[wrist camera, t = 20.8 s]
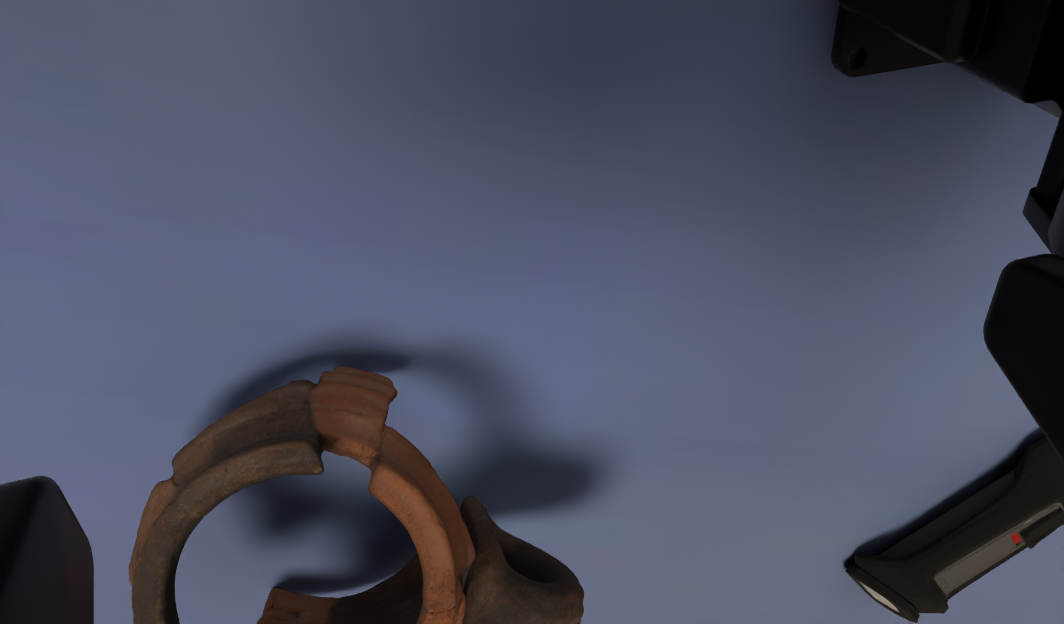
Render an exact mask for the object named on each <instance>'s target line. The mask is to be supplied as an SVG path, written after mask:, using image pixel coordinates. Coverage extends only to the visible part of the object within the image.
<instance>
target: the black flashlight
mask: <svg viewBox="0 0 1064 624" xmlns="http://www.w3.org/2000/svg"><path fill="white" fill-rule="evenodd" d="M1061 525H1064V462H1063V461H1062V459H1061V458H1060V456H1059V455H1058V454H1057V452H1056V451H1055V449H1054V448H1053V446H1052V445H1051V443H1050V442H1049V440H1048V439H1047V437H1045V438H1043V439H1041V440H1039V441H1038V442H1036V443H1034V444H1032V445H1031V446H1029V447H1028V449H1027V450H1026V452H1025V454H1024V455H1023V457H1022V458H1021V460H1020V461H1019V464H1018V465H1017V466H1016V468H1015V470H1012V471H1011V472H1009V473H1007V474H1006V475H1004V476H1003V477H1001V478H1000V479H998V480H996V481H995V482H993V483H992V484H990V485H989V486H987V487H985V488H984V489H982V490H981V491H979V492H978V493H976V494H974V495H973V496H971V497H970V498H968V499H967V500H965V501H963V502H962V503H960V504H959V505H957V506H956V507H954V508H952V509H951V510H949V511H948V512H946V513H945V514H943V515H941V516H940V517H938V518H937V519H935V520H934V521H932V522H930V523H929V524H927V525H926V526H924V527H923V528H921V529H919V530H918V531H916V532H915V533H913V534H912V535H910V536H908V537H907V538H905V539H904V540H902V541H901V542H899V543H897V544H896V545H894V546H893V547H891V548H890V549H888V550H886V551H885V552H883V553H881V554H879V555H871V554H869V553H866V552H859V553H857V554H855V555H854V559H855V563H856V566H854V565H852V566H851V567H849V568H848V569H846V568H844V569H845V571H846V572H847V573H848V574H849V575H850V576H851V578H852V579H853V580H854V581H855V582H856V583H857V584H858V585H859V586H860V587H861V588H862V589H863V590H864V591H865V592H866V593H867V594H868V595H869V596H870V597H871V598H872V599H874V600H875V601H876V602H878V603H879V604H881V605H882V606H884V607H885V608H887V609H889V610H890V611H892V612H894V613H895V614H897V615H899V616H901V617H903V618H905V619H907V620H909V621H911V622H915V623H917V621H918V618H919V616H920V615H919V613H945V612H946V611H947V609H948V605H947V601H948V599H950V598H951V597H953V596H954V595H955V594H957V593H958V592H959V591H961V590H962V589H964V588H965V587H967V586H968V585H970V584H971V583H973V582H974V581H976V580H977V579H979V578H981V577H982V576H984V575H985V574H987V573H988V572H990V571H991V570H993V569H994V568H996V567H997V566H999V565H1001V564H1002V563H1004V562H1005V561H1007V560H1008V559H1010V558H1011V557H1013V556H1014V555H1016V554H1017V553H1019V552H1021V551H1022V550H1024V549H1025V548H1027V547H1029V548H1030V549H1031V548H1033V547H1034V546H1035V545H1036V544H1037V543H1038V542H1040V541H1041V540H1042V539H1044V538H1045V537H1046V536H1048V535H1049V534H1050V533H1052V532H1053V531H1055V530H1056V529H1057V528H1059V527H1060V526H1061Z"/></svg>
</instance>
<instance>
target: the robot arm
mask: <svg viewBox="0 0 1064 624" xmlns="http://www.w3.org/2000/svg"><path fill="white" fill-rule="evenodd" d="M839 2H840V6H839V12H838V18H837V24H836V31H835V37H834V43H833V49H832V64H833V66H834V68H835V69H837V70H839V71H840V72H842V73H843V74H845V75H846V76H848V77H858V76H864V75H870V74H876V73H882V72H888V71H894V70H900V69H906V68H912V67H918V66H924V65H930V64H936V63H942V62H945V63H951V64H953V65H955V66H957V67H959V68H960V69H962V70H964V71H966V72H968V73H970V74H972V75H974V76H976V77H978V78H979V79H981V80H983V81H985V82H987V83H989V84H991V85H993V86H995V87H997V88H998V89H1000V90H1002V91H1004V92H1006V93H1008V94H1010V95H1012V96H1014V97H1016V98H1017V99H1019V100H1021V101H1023V102H1025V103H1031V104H1033V105H1035V106H1037V107H1039V108H1041V109H1043V110H1045V111H1047V112H1048V113H1050V114H1052V115H1054V116H1056V117H1058V118H1059V121H1058V124H1057V127H1056V130H1055V133H1054V136H1053V139H1052V142H1051V145H1050V148H1049V151H1048V154H1047V157H1046V160H1045V163H1044V166H1043V169H1042V172H1041V175H1040V178H1039V181H1038V184H1037V187H1034V188H1031V189H1030V191H1029V194H1028V197H1027V200H1026V203H1025V206H1024V209H1023V215H1024V216H1025V218H1026V219H1027V220H1028V222H1029V223H1030V224H1031V226H1032V227H1033V229H1034V230H1035V231H1036V233H1037V234H1038V235H1039V237H1040V238H1041V240H1042V241H1043V242H1044V244H1045V245H1046V246H1047V248H1048V249H1049V251H1050V252H1051V253H1052V254H1040V255H1036V256H1031V257H1027V258H1022V259H1018V260H1014V261H1012V262H1010V263H1008V264H1007V266H1006V267H1005V268H1004V269H1003V270H1002V272H1001V275H1000V277H999V280H998V283H997V286H996V289H995V292H994V295H993V298H992V301H991V304H990V307H989V310H988V313H987V316H986V319H985V323H984V328H983V334H984V340H985V343H986V346H987V348H988V350H989V351H990V353H991V355H992V356H993V358H994V359H995V361H996V362H997V364H998V365H999V367H1000V368H1001V370H1002V371H1003V373H1004V374H1005V376H1006V377H1007V379H1008V380H1009V382H1010V383H1011V385H1012V386H1013V388H1014V389H1015V391H1016V392H1017V394H1018V395H1019V397H1020V398H1021V400H1022V401H1023V403H1024V404H1025V406H1026V407H1027V409H1028V410H1029V412H1030V413H1031V415H1032V416H1033V418H1034V419H1035V421H1036V422H1037V424H1038V425H1039V427H1040V428H1041V430H1042V431H1043V433H1044V434H1045V436H1046V437H1047V439H1048V440H1049V442H1050V443H1051V445H1052V446H1053V448H1054V449H1055V451H1056V452H1057V454H1058V455H1059V456H1060V458H1061V459H1062V461H1063V462H1064V0H839ZM857 48H858V49H859V51H858V53H857V56H856V57H855V58H854V59H853V60H852V61H850V62H849V58H850V55H851V53H852V52H853V51H854V50H855V49H857ZM0 624H94V566H93V556H92V551H91V547H90V544H89V541H88V538H87V536H86V534H85V533H84V531H83V529H82V527H81V525H80V524H79V522H78V520H77V518H76V517H75V515H74V513H73V511H72V509H71V508H70V506H69V504H68V502H67V500H66V499H65V497H64V495H63V493H62V491H61V490H60V488H59V486H58V485H57V484H56V482H55V481H53V480H52V479H51V478H49V477H46V476H37V477H32V478H28V479H23V480H19V481H14V482H10V483H5V484H1V485H0Z"/></svg>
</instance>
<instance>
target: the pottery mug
mask: <svg viewBox="0 0 1064 624" xmlns="http://www.w3.org/2000/svg"><path fill="white" fill-rule="evenodd" d="M396 396H397V390H396V389H395V388H394V386H393V383H392V381H391V380H390V379H389V378H387V377H384V376H382V375H379V374H376V373H373V372H368V371H364V370H360V369H356V368H353V367H345V366H342V367H338V368H335V369H334V370H333V371H325V372H323V373H322V375H321V377H320V380H319V382H318V384H314V383H313V382H311V381H309V380H296V381H293V382H290V383H289V384H287V385H284V386H282V387H280V388H277V389H275V390H273V391H270V392H268V393H265V394H263V395H261V396H260V397H258V398H256V399H254V400H252V401H250V402H248V403H246V404H244V405H242V406H241V407H239V408H238V409H236V410H234V411H232V412H230V413H228V414H227V415H225V416H224V417H222V418H220V419H219V420H217V421H216V422H215V423H213V424H211V425H210V426H208V427H207V428H206V429H205V430H204V431H202V432H201V433H200V434H199V435H198V436H197V437H196V438H194V439H193V440H192V441H191V442H189V443H188V444H187V445H186V446H184V447H183V448H182V449H181V450H180V451H179V452H178V453H177V454H176V455H175V457H174V459H173V460H172V465H173V468H174V474H173V476H172V477H171V478H170V479H169V480H166V481H161V482H159V483H158V484H157V485H156V486H155V487H154V488H153V490H152V492H151V494H150V497H149V499H148V502H147V504H146V506H145V508H144V511H143V514H142V518H141V522H140V526H139V528H138V532H137V539H136V542H135V546H134V550H133V553H132V557H131V562H130V564H129V580H130V582H131V585H132V609H133V613H134V624H180V623H179V618H178V613H177V609H176V602H175V574H176V569H177V564H178V561H179V558H180V554H181V552H182V550H183V547H184V544H185V542H186V540H187V539H188V537H189V535H190V534H191V532H192V531H193V530H194V528H195V527H196V526H197V525H198V524H199V522H200V521H201V520H202V518H203V517H204V516H205V515H207V514H208V513H209V512H210V511H211V510H213V509H214V508H215V507H216V506H217V505H218V504H219V503H221V502H222V501H223V500H225V499H226V498H228V497H229V496H231V495H232V494H234V493H236V492H238V491H239V490H241V489H243V488H245V487H247V486H250V485H252V484H255V483H258V482H261V481H265V480H269V479H272V478H277V477H281V476H290V475H319V474H322V473H323V471H324V468H323V463H322V460H321V454H322V452H323V451H324V450H325V451H328V452H332V453H334V454H338V455H341V456H348V457H350V458H353V459H355V460H357V461H359V462H360V463H361V464H363V465H365V466H366V467H368V468H369V469H370V470H371V479H370V483H369V488H368V490H369V492H370V493H371V494H372V495H373V496H375V497H376V498H377V499H378V500H380V501H381V502H382V503H383V504H384V505H385V506H386V507H387V508H388V509H389V510H390V511H391V512H392V513H393V514H394V515H395V516H396V517H397V518H398V519H399V520H400V521H401V523H402V524H403V525H404V526H405V528H406V529H407V531H408V532H409V534H410V536H411V538H412V540H413V542H414V545H415V547H416V550H417V552H416V554H415V555H414V557H413V558H412V559H411V560H410V561H409V562H408V563H407V564H406V565H405V566H404V567H403V568H402V569H401V570H400V571H399V572H397V573H396V574H395V575H393V576H391V577H390V578H388V579H387V580H385V581H383V582H381V583H379V584H377V585H376V586H374V587H373V588H371V589H369V590H367V591H364V592H362V593H358V594H355V595H352V596H346V597H342V598H332V597H330V598H328V597H317V596H311V595H302V594H297V593H294V592H290V591H287V590H284V589H281V588H274V589H272V590H271V592H270V594H269V596H268V599H267V602H266V604H265V607H264V611H263V615H262V617H261V618H260V619H259V620H258V622H257V624H580V621H581V617H582V615H583V612H584V608H583V599H584V591H583V588H582V587H581V585H580V583H579V581H578V579H577V577H576V576H575V575H574V573H573V572H572V571H571V570H570V569H569V568H568V567H567V566H566V565H564V564H563V563H562V562H560V561H559V560H557V559H556V558H554V557H553V556H551V555H549V554H548V553H546V552H544V551H542V550H541V549H539V548H537V547H535V546H533V545H531V544H529V543H527V542H525V541H523V540H521V539H519V538H516V537H514V536H512V535H511V534H509V533H507V532H505V531H503V530H502V529H500V528H499V527H498V526H497V525H496V524H495V522H494V521H493V520H492V519H491V517H490V516H489V515H488V513H487V511H486V508H485V507H484V506H483V504H482V503H481V502H480V501H479V500H478V499H477V498H476V497H474V496H469V497H466V498H465V499H463V500H462V505H461V510H459V508H458V505H457V503H456V501H455V500H454V498H453V497H452V495H451V494H450V492H449V491H448V490H447V488H446V486H445V485H444V483H443V482H442V481H441V479H440V478H439V476H438V475H437V473H436V471H435V470H434V468H433V467H432V465H431V464H430V462H429V461H428V460H427V459H426V458H425V456H424V455H423V454H422V453H421V452H420V451H419V450H418V449H417V448H416V447H415V446H414V445H413V444H412V443H411V442H409V441H408V440H407V439H406V438H405V437H404V436H402V435H401V434H399V433H398V432H397V431H396V430H394V429H393V428H390V427H388V426H385V421H386V418H387V413H388V406H389V404H390V403H391V402H392V401H393V399H394V398H395V397H396Z"/></svg>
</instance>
